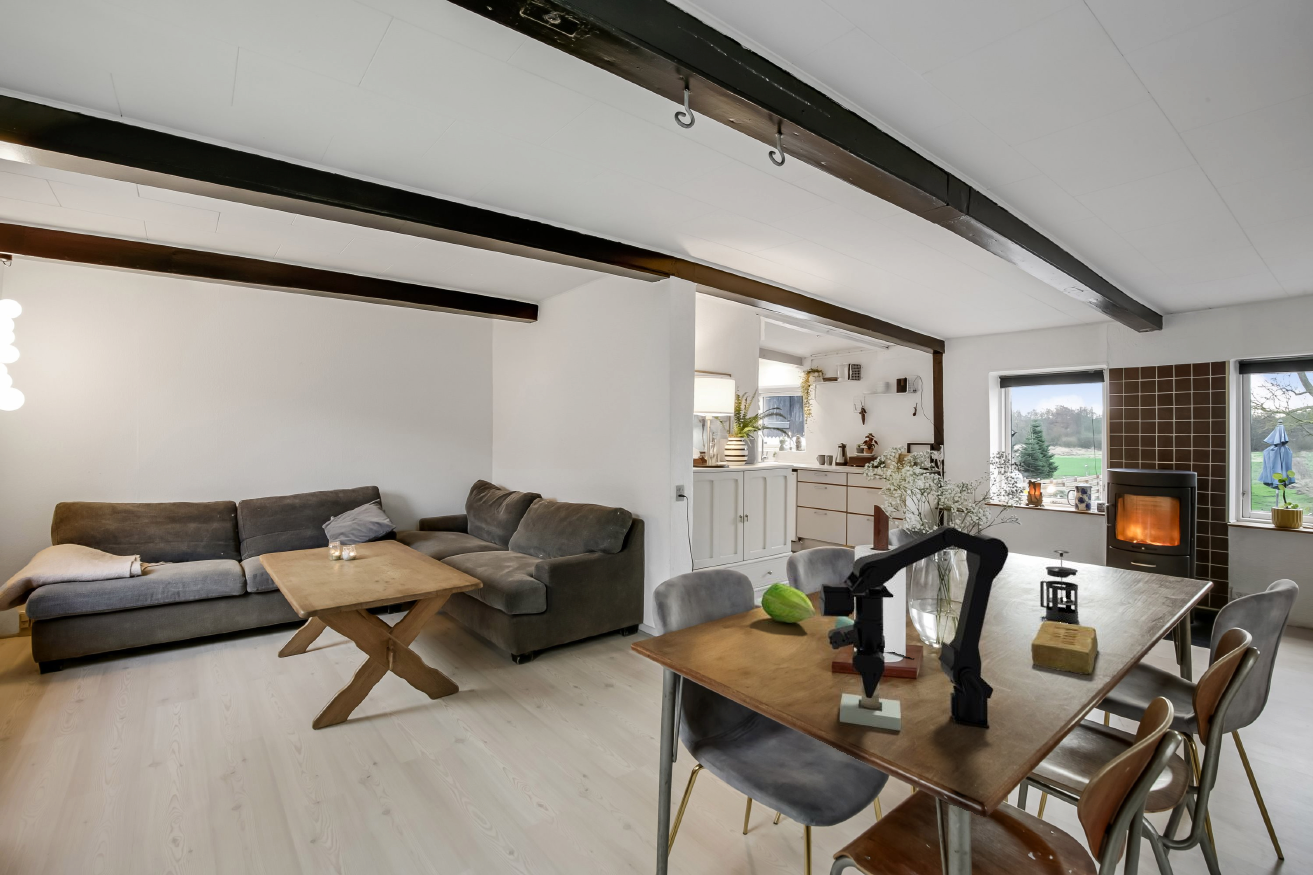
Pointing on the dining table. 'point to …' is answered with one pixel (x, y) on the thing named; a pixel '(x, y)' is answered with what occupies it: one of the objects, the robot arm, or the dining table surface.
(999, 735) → the dining table surface
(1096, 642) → the brick
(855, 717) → the board
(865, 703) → the peg
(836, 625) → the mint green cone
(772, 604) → the lettuce
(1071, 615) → the french press
